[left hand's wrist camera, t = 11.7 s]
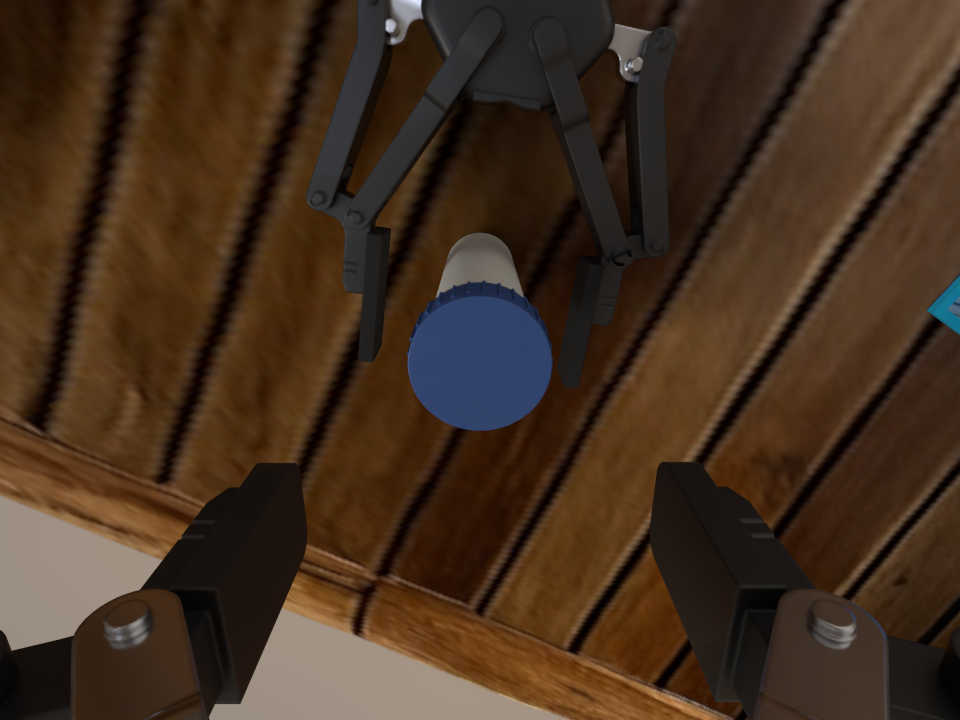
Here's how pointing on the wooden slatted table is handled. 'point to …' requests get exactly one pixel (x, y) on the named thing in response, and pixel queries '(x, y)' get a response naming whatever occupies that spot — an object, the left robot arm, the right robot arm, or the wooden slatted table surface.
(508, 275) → the white tube
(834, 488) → the wooden slatted table surface
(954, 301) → the model building
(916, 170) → the wooden slatted table surface
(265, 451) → the wooden slatted table surface
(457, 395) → the lid
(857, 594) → the wooden slatted table surface
